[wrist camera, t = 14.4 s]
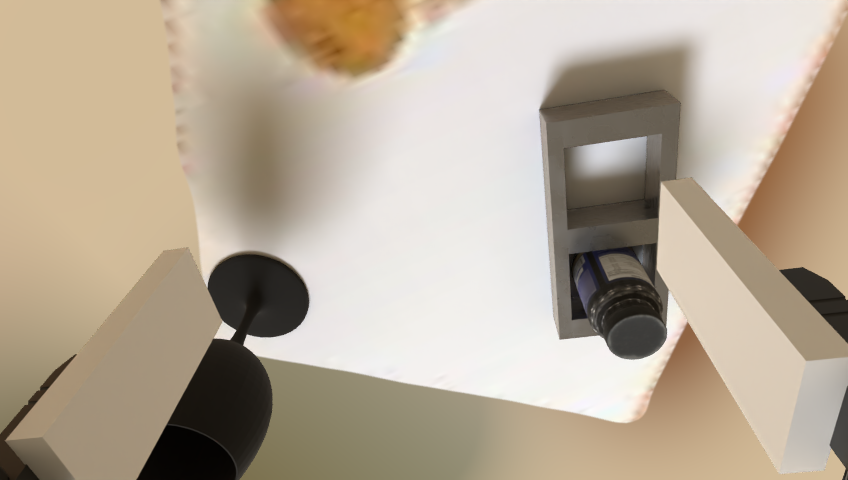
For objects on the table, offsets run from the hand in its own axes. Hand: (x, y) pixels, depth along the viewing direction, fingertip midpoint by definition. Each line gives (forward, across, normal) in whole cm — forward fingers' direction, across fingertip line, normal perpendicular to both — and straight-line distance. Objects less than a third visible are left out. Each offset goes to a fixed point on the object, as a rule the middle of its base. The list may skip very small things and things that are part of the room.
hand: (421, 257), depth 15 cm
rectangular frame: (+32, +12, -18) cm, 39 cm away
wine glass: (+32, -22, -22) cm, 45 cm away
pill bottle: (+32, +12, -23) cm, 41 cm away
